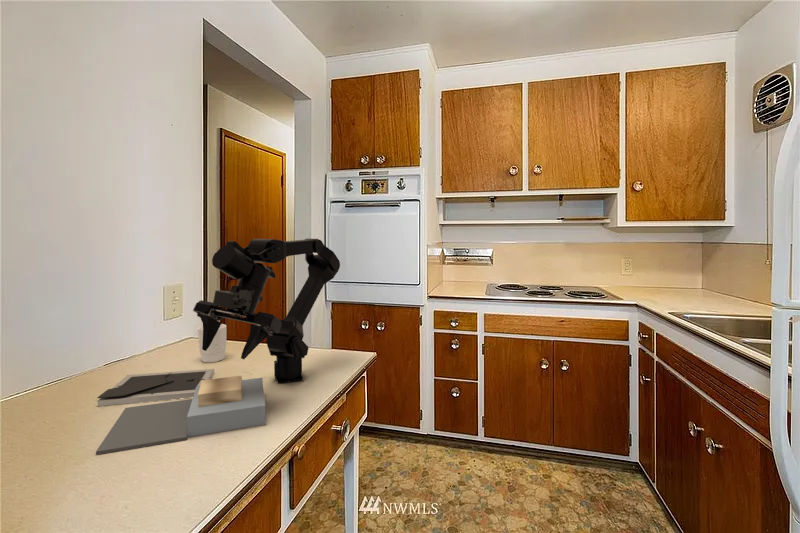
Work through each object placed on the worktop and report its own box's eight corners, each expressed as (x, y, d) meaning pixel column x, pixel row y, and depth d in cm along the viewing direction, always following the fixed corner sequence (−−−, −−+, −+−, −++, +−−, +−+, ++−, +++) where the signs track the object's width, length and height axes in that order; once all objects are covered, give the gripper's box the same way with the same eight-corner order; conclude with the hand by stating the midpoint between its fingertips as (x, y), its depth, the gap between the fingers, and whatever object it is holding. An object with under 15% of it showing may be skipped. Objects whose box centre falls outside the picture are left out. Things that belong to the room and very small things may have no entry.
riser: (262, 393, 94) (262, 377, 93) (265, 424, 79) (265, 405, 79) (197, 402, 89) (196, 385, 88) (187, 437, 74) (186, 416, 73)
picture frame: (97, 409, 86) (200, 400, 92) (97, 397, 86) (200, 388, 91) (127, 382, 101) (214, 376, 107) (127, 372, 101) (214, 366, 106)
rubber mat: (198, 400, 90) (197, 398, 89) (187, 439, 73) (186, 436, 73) (125, 410, 84) (125, 407, 84) (96, 454, 68) (95, 451, 68)
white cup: (220, 363, 115) (218, 330, 114) (193, 363, 115) (192, 329, 114) (231, 355, 123) (231, 323, 122) (207, 354, 123) (205, 323, 122)
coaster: (241, 386, 88) (241, 375, 88) (241, 400, 81) (241, 388, 80) (202, 391, 85) (202, 380, 85) (198, 406, 78) (197, 394, 77)
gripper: (194, 266, 84) (161, 336, 78) (273, 281, 81) (245, 355, 75) (220, 286, 94) (193, 349, 88) (292, 299, 91) (268, 366, 85)
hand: (223, 354), depth 83 cm, fingers open, 9 cm apart
